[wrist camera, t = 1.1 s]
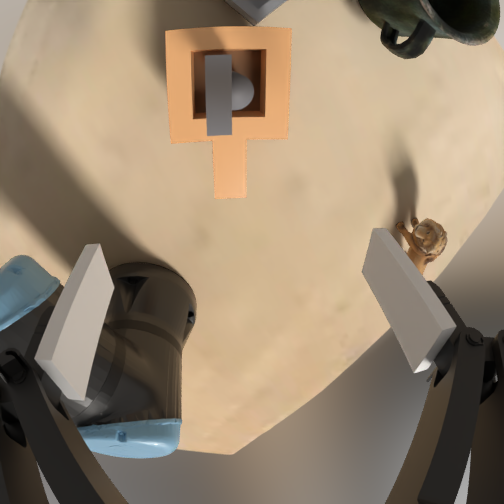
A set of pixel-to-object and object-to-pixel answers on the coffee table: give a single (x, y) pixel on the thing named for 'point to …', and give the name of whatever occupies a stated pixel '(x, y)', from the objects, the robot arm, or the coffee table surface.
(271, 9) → the tray
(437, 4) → the mug
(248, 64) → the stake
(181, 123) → the orange square frame paddle
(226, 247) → the coffee table surface
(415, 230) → the lion figurine
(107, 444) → the robot arm
